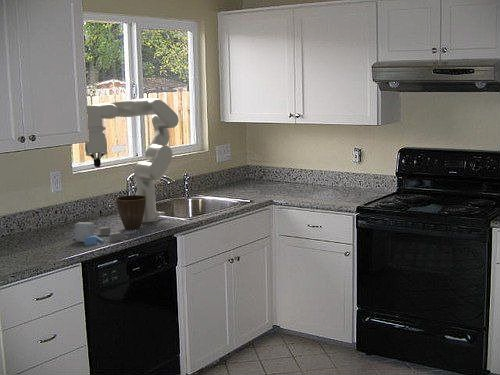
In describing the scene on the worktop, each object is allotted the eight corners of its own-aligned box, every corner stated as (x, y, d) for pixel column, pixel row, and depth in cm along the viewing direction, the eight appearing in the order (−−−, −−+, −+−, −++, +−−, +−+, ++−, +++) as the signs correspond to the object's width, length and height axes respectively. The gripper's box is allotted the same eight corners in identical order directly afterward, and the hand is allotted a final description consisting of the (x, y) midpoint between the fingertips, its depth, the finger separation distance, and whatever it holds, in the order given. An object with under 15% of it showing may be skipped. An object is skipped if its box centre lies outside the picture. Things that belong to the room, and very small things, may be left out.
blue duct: (92, 235, 343) (91, 228, 342) (104, 242, 327) (103, 235, 327) (74, 238, 338) (74, 231, 338) (86, 245, 323) (85, 238, 322)
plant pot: (153, 227, 358) (152, 196, 355) (133, 233, 346) (131, 201, 343) (132, 224, 366) (130, 194, 364) (111, 230, 354) (109, 198, 351)
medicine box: (95, 240, 333) (94, 222, 332) (90, 242, 329) (89, 224, 327) (80, 239, 335) (79, 221, 334) (75, 241, 331) (74, 223, 330)
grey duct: (115, 232, 348) (115, 225, 348) (128, 239, 333) (128, 232, 332) (99, 234, 344) (98, 227, 344) (111, 241, 329) (110, 234, 328)
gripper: (107, 128, 354) (109, 165, 357) (78, 130, 347) (80, 167, 349) (112, 129, 348) (114, 166, 350) (82, 131, 340) (85, 169, 343)
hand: (97, 166), depth 350 cm, fingers closed
